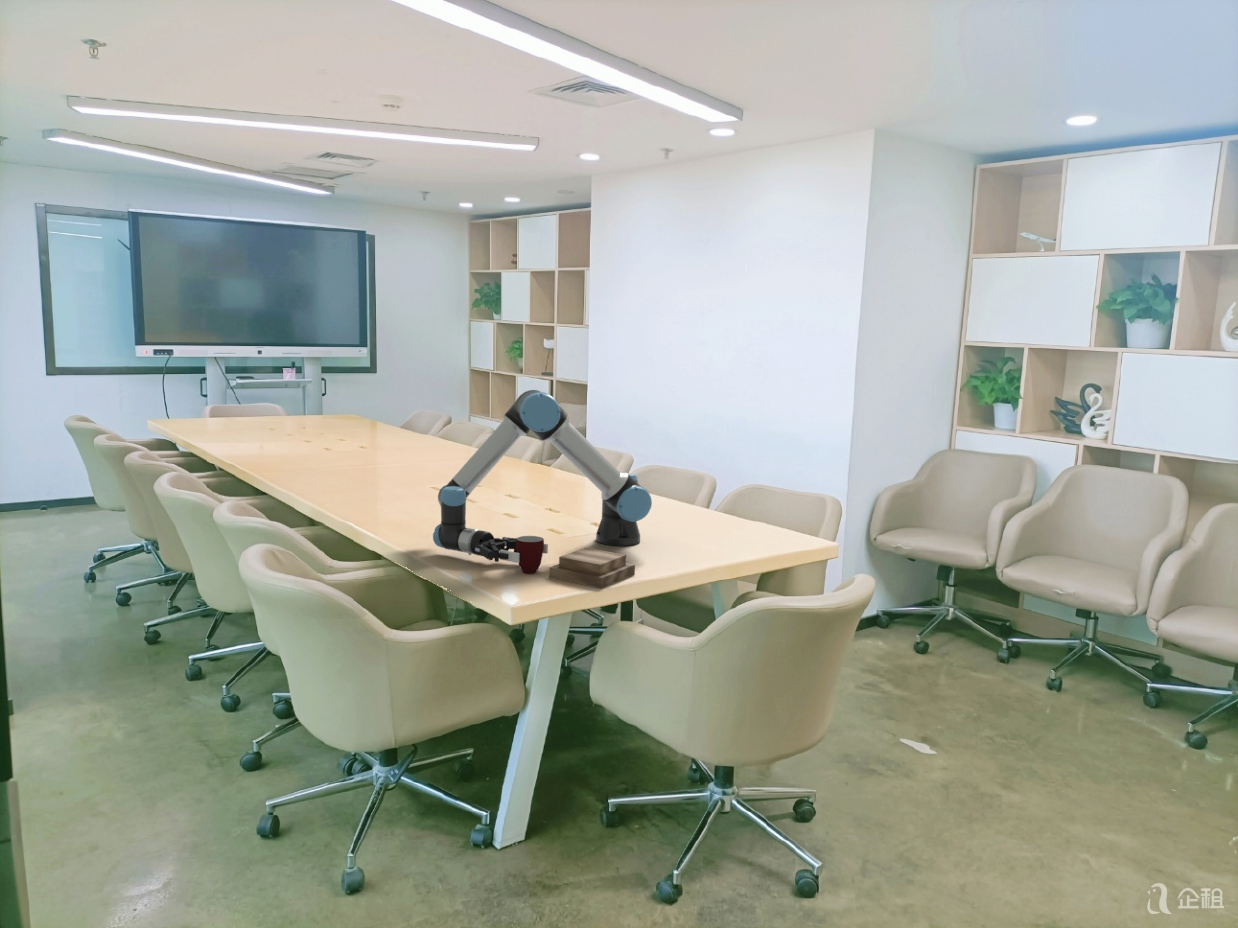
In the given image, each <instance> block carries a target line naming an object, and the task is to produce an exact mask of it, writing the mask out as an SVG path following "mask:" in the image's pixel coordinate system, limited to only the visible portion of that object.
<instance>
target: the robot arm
mask: <svg viewBox="0 0 1238 928" xmlns="http://www.w3.org/2000/svg"><path fill="white" fill-rule="evenodd" d="M557 401H558V400H556V399H555V398H554V397H553V396H552V395H551V394H549V393H546V392H544V391H543V392H542V391H540V390H537V389H531V390H526V391H524V392H523V393H521V394H520V395H519V396H518V397H517V398H516V400H515V401H514V403H513V404H512V405H511V406H510V408H509V409H508V410H507V411H506V412H505V414H504V415H503V421H502V422H500V424H499V425H498V426H497V427H496V428H495V430H494V431H493V432H492V433H491V434H490V435H489V437H488V438H487V439H485V441H484V442H483V443H482V444H481V446H480V447H478V449H477V450H476V451H475V452H474V454H473V455H472V456H471V457H470V458H469V460H467V461H466V462H465V464H464V465H463V466H462V467H461V468H460V469H459V471H457V473H455V474H454V476H453V477H452V479H451V480H450V481H449V482H448V483H447V484H445V485H443V486H442V487H441V488H440V489H439V491H438V495H437V501H438V503H439V506H440V514H441V515H440V524H437V525H436V526H435V528H434V532H433V534H432V540H433V542H434V544H435V545H436V546H437V547H440V548H442V549H445V550H448V551H450V550H451V551H456V552H460V553H461V552H462V553H464V554H465V553H466V554H468V555H469V556H471V555H475V556H480V557H484V558H485V559H487V560H488V561H493V560H494V562H496V563H498V562H499V561H500V560H501V561H506V562H511V563H516V564H519V553H516V552H514V551H510V550H514V548H515V546H516V538H517V537H507V536H503V537H501V538H499V537H495V536H494V535H493V534H492V533H491V532H489V531H486V530H480V529H475V528H471V527H466V521H467V520H466V514H467V513H466V512H467V511H466V509H467V506H466V505H467V499H468V497H469V496H470V495H471V493H472V492H473V491H474V490H475V489H476V488H477V486H479V484H480V483H481V482H482V481H483V480H484V478H486V476H487V475H488V474H489V473H490V472H491V470H493V468H494V467H495V466H496V465H497V464H498V463H499V462H500V460H501V459H502V458H503V457H504V456H505V455H506V454H507V453H508V452H509V451H510V449H511V448H512V447H513V446H514V445H515V443H517V441H518V440H519V439H520V438H521V437H522V436H527V435H528V434H529V433H530V432H531V433H533V434H534V435H535V436H537V438H539V439H540V440H541V441H542V442H549V443H551V444H552V445H553V446H554V447H555V448H556V449H557V450H558V451H559V452H560V453H561V454H562V455H563V456H564V457H565V458H566V459H567V460H568V461H569V462H571V464H572V465H574V467H576V469H578V471H579V472H581V473H582V474H583V475H584V476H585V477H586V479H587V480H589V481H590V482H591V483H592V484H593V485H594V486H595V487H596V488H597V489H598V490H599V491H600V492H601V501H602V503H601V504H602V505H601V506H602V507H601V519H600V523H599V525H598V528H597V530H596V534H595V540H596V542H597V543H599V544H603V545H608V546H617V547H618V546H634V545H637V544H640V542H641V533H640V529H639V526H638V523H637V522H638V521H639V522H640V521H642V520H643V519H645V518H646V517H647V515H648V514H649V513H650V511H651V509H652V506H653V505H652V502H653V499H652V496H651V495H650V491H648V490H647V488H645V487H643V486H641V485H640V483H638V482H639V481H638V476H637V475H636V474H629V473H628V472H626V471H625V472H621V471H619V470H618V469H617V468H616V467H615V465H613V463H611V462H610V461H609V460H608V458H606V457H605V456H604V455H603V454H602V453H601V452H600V451H599V450H598V449H597V448H596V447H595V446H594V445H593V444H592V443H591V442H590V441H589V440H588V439H587V438H586V437H585V436H584V435H583V434H582V433H581V432H580V431H579V430H577V428H575V426H574V425H573V424H572V423H570V419H569V414H568V413H567V411H565V410H564V408H562V407H561V405H560V404H559V403H558V402H557ZM548 545H549V544H547V543H544V549H543V554H545V555H546V554H549V551H548V550H549V549H548V548H549V546H548Z"/></svg>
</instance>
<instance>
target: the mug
mask: <svg viewBox="0 0 1238 928" xmlns="http://www.w3.org/2000/svg"><path fill="white" fill-rule="evenodd" d="M515 538H516V546H515V548H514V549H513V552H516V553H519V563H518V566H519V569H521V572H522V573H523V574H528V575H533V574H536V573H537V572H538V570H539V568H540V566H541V565H542V564H541V563H542V560H543V559H542V558H543V555H544V553H543V549H544V544H545V538H544V537H541V536H536V535H523V536H518V537H515Z"/></svg>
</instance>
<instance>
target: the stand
mask: <svg viewBox="0 0 1238 928" xmlns="http://www.w3.org/2000/svg"><path fill="white" fill-rule="evenodd" d="M635 571H636V564H633V563H628V562H627V555H626V554H623V553H618V552H617V553H616V552H612V551H607V550H601V549H596V548H590V547H584V548H581V549H578V550H575V551H572V552H569V553H566V554H564V555H560V556H559V557H558V563H557V564H554V565H552V566H549V568H548V577H549V578H550V579H554V578H555V580H559V579H560V580H559V581H564V582H570V583H573V582H574V583H575V584H578V585H583V586H586V587H587V586H589V587H593V588H596V589H597V588H598V589H603V588H606V587H609V586H611V585H614V584H616V583H618V582H621V581H622V580H625V579H628V578H630V577H632V576H634V575H635V574H636V572H635Z"/></svg>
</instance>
